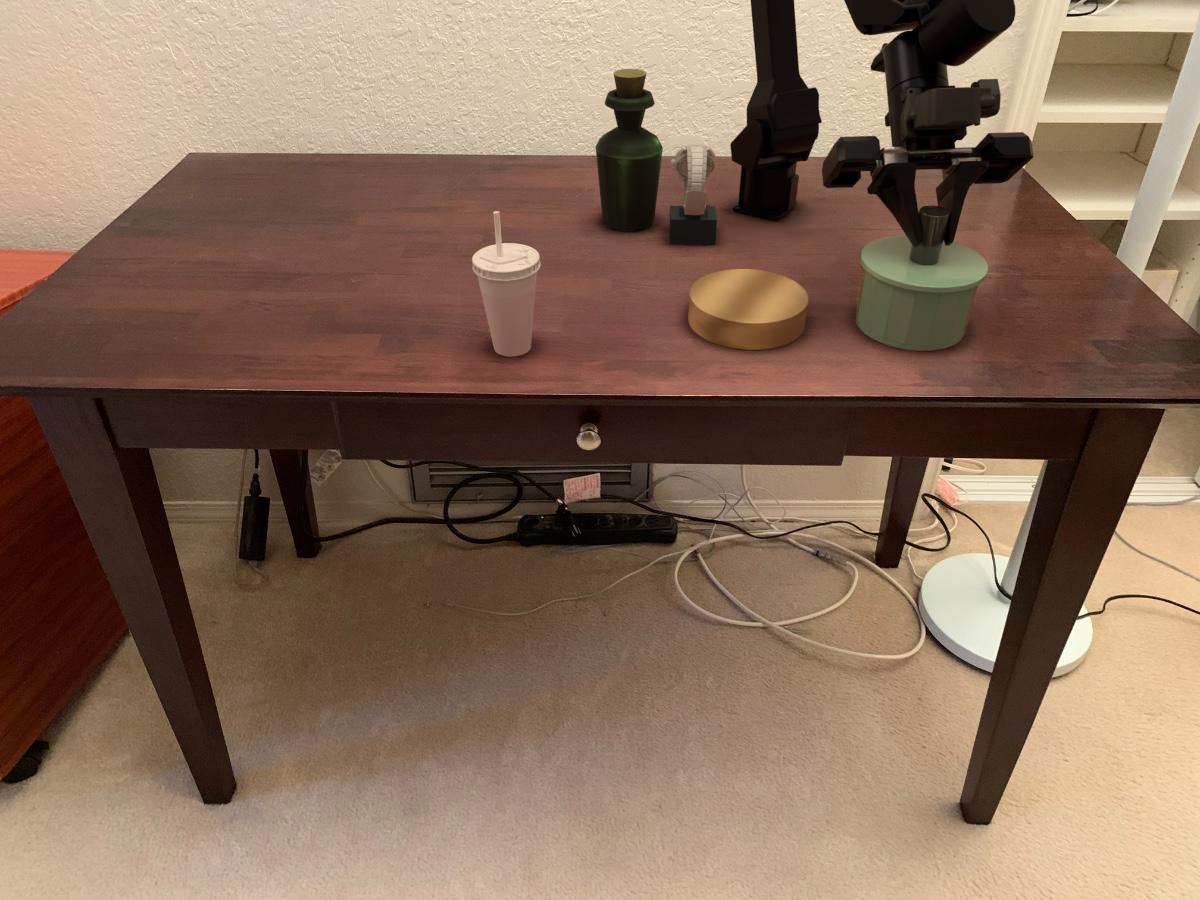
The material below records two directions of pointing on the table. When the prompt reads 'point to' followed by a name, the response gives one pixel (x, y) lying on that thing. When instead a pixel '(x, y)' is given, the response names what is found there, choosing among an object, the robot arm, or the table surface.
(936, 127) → the robot arm
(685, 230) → the watch
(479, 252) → the smoothie
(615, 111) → the potion bottle
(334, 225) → the table surface
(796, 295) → the disc
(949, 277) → the lid
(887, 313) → the green round open container
